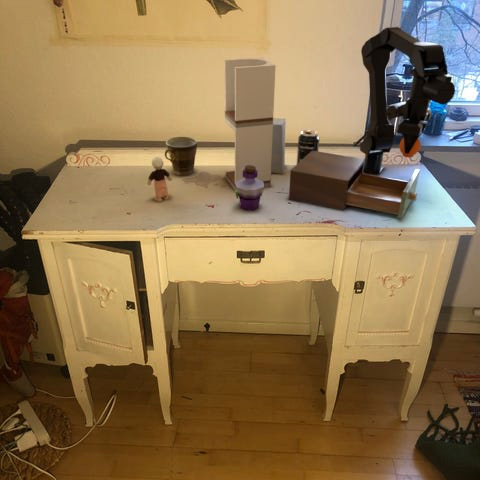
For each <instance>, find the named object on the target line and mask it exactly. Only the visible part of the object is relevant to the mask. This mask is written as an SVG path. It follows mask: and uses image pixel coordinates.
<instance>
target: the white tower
mask: <svg viewBox="0 0 480 480" xmlns="http://www.w3.org/2000/svg"><path fill="white" fill-rule="evenodd" d="M223 63H224V67H223V69H224V72H223V74H224V75H223V76H224V123H225V124H226V125H227V126H228V127H230V129H231V130H232V131H233V132H234V170H230V171H225V179H226V181H227V182H228V183H229V185H230V186H231V187H232V188H233V190H234V191H235V192H236V182H237V181H239V180H242V179H245V178H244V177H243V170H245V166H247V165H252V166H255V167H256V170H257V177H256V178H255V179H257V180H260V181H262V182H264V188H269V187H271V182H272V181H271V179H272V173H271V158H272V135H273V118H274V109H275V88H276V87H275V85H276V64H274V63H272V62H271V61H269V60H267V59H266V58H264V57H250V58H249V57H248V58H247V57H246V58H233V59H231V58H230V59H224V60H223Z"/></svg>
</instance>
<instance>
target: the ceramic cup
mask: <svg viewBox="0 0 480 480" xmlns="http://www.w3.org/2000/svg"><path fill="white" fill-rule="evenodd" d="M165 145H166V150H165V151H164V157H165V159H167V160H168V161H170V163H171V167H172V171H173V174H174V175H177V176H189V175H191V174H193V173H194V169H195V162H196V154H197V148H198V140H197V139H196V138H194V137H192V136H191V137H190V136H176V137H170V138H169V139H167V140H166V141H165ZM167 154H168V155H169V157H168V156H167Z"/></svg>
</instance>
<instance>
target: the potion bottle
mask: <svg viewBox="0 0 480 480" xmlns="http://www.w3.org/2000/svg"><path fill="white" fill-rule="evenodd" d="M243 177H244V178H245V179H242V180H239V181H237V182H236V191H235V197H236V199H237V200H239V204H240V205H239V207H240V209H241V210H244V211H247V212H249V211H252V212H254V211H256V210H258V209H259V206H260V201H261V197H263V192H264V188H265V187H264V182H262V181H260V180H257V179H255V178H256V177H257V170H256V167H255V166H252V165H247V166H245V170H243Z"/></svg>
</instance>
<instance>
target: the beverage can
mask: <svg viewBox="0 0 480 480" xmlns="http://www.w3.org/2000/svg"><path fill="white" fill-rule="evenodd" d="M319 146H320V136H319V132H317V131H316V130H312V129H305V130H302V131H300V134H299V136H298V139H297V151H296V152H297V153H296V155H297V156H296V165H297V164H298V163H299V162H300V161H301V160H302V159H304V158H305V157H306V156H307V155H308V154H309V153H310V152H311V151H318V152H319V149H320V147H319Z"/></svg>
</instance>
